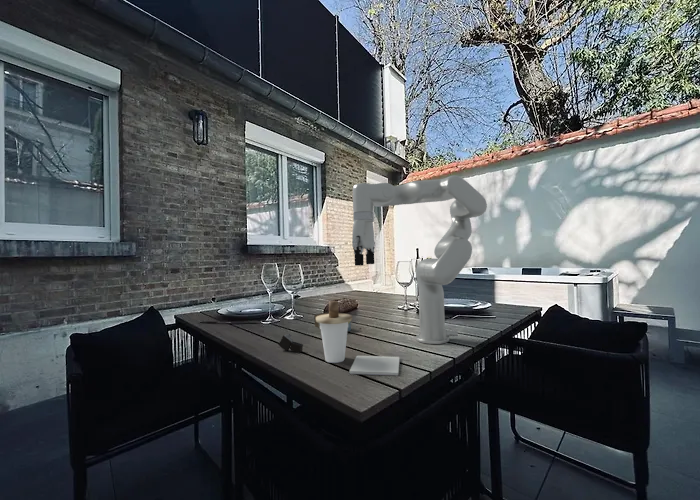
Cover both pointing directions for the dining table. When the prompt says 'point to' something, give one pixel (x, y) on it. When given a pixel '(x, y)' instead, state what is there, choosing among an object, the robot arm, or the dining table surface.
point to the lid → (333, 315)
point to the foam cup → (334, 341)
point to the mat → (375, 365)
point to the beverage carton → (328, 313)
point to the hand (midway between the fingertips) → (364, 264)
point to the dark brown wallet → (290, 344)
